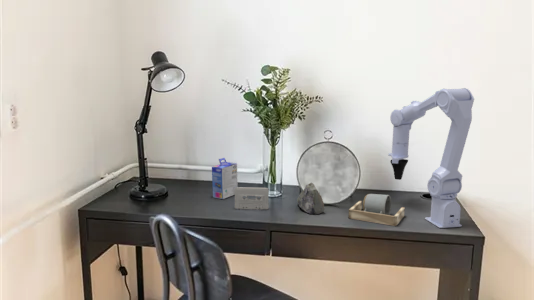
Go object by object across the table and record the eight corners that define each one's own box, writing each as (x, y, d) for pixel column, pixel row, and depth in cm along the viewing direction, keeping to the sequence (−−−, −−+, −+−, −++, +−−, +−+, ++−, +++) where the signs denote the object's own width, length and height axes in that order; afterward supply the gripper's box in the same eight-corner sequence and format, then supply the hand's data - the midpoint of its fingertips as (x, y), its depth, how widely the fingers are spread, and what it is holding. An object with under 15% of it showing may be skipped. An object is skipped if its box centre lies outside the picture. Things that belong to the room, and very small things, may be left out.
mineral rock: (298, 202, 185) (299, 176, 183) (327, 204, 183) (328, 178, 181) (292, 213, 173) (293, 185, 171) (323, 215, 170) (324, 187, 169)
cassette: (268, 208, 178) (268, 187, 177) (268, 209, 176) (268, 188, 175) (234, 207, 178) (234, 186, 177) (234, 209, 176) (234, 188, 175)
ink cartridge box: (227, 191, 199) (226, 155, 196) (238, 193, 196) (238, 157, 193) (211, 197, 190) (211, 160, 188) (222, 199, 187) (222, 162, 185)
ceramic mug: (368, 210, 177) (369, 189, 175) (391, 214, 173) (392, 192, 171) (358, 219, 168) (359, 197, 166) (382, 223, 164) (383, 201, 162)
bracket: (359, 208, 178) (359, 200, 178) (404, 215, 171) (404, 207, 171) (348, 218, 168) (348, 209, 167) (396, 226, 161) (396, 217, 160)
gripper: (394, 138, 189) (392, 173, 191) (384, 144, 176) (382, 182, 179) (413, 140, 186) (410, 176, 188) (404, 146, 173) (402, 184, 176)
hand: (398, 179), depth 183 cm, fingers closed
